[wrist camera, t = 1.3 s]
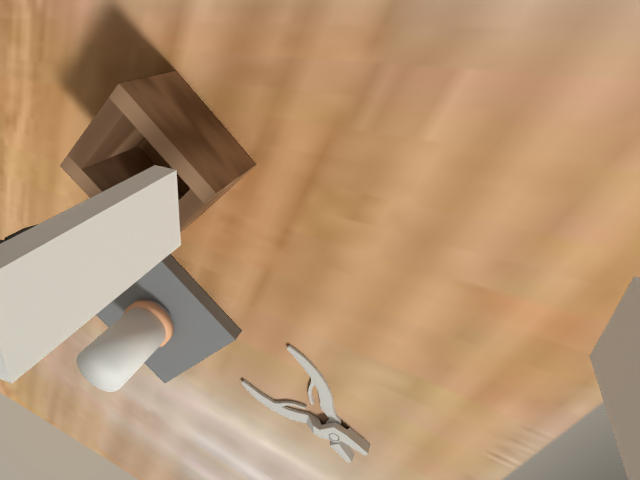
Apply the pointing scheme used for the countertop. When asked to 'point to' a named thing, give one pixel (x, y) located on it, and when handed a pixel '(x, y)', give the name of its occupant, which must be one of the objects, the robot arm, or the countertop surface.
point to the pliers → (329, 430)
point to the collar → (159, 143)
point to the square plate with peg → (156, 329)
